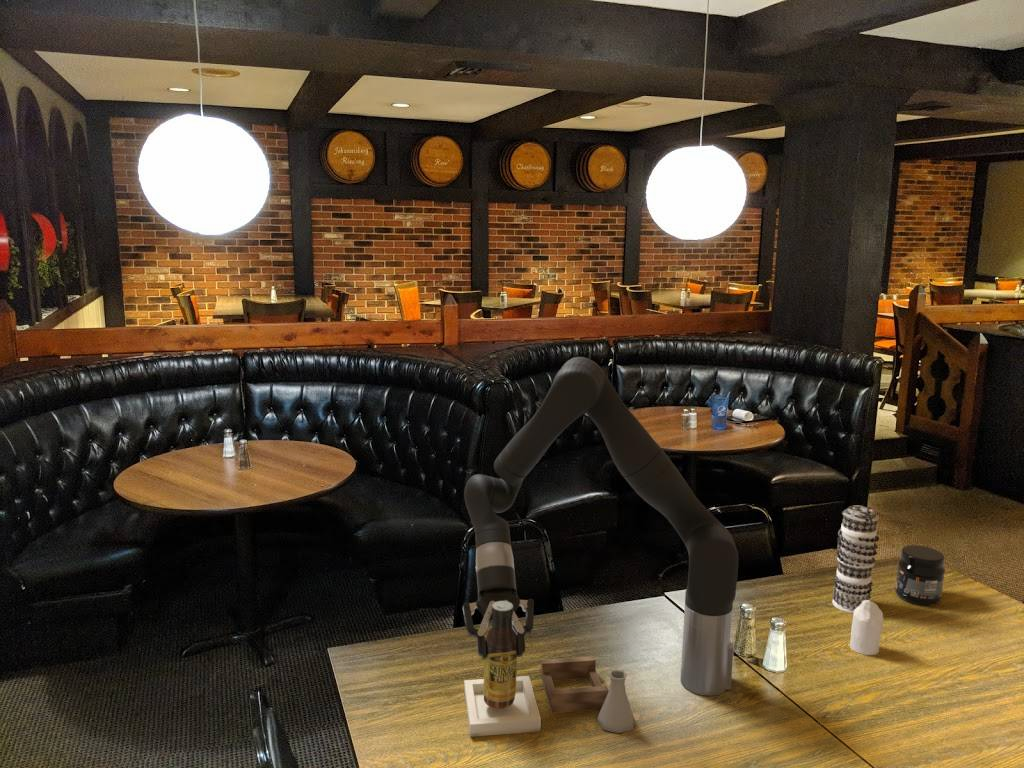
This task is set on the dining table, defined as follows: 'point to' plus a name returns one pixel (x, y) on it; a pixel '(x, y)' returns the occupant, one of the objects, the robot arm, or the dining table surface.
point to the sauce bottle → (500, 658)
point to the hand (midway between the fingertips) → (502, 656)
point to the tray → (501, 710)
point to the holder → (573, 696)
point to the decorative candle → (855, 557)
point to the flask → (616, 706)
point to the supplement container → (920, 575)
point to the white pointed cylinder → (866, 628)
